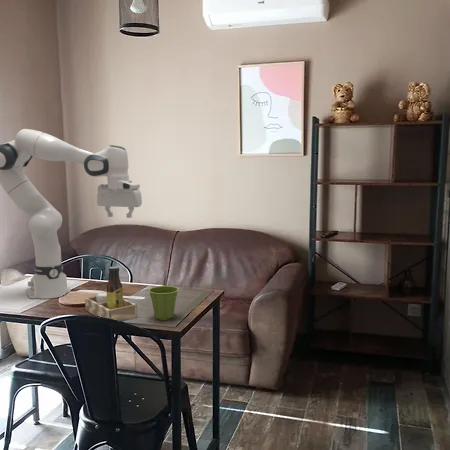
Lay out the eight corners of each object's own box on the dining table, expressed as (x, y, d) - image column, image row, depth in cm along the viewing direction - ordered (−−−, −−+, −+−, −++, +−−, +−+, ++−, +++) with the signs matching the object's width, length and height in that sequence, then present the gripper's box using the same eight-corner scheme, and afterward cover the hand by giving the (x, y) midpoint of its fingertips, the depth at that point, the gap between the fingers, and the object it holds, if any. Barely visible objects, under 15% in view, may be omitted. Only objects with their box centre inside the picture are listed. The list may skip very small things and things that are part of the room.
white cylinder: (109, 313, 203) (108, 296, 202) (93, 312, 204) (92, 295, 203) (116, 308, 210) (115, 292, 209) (101, 307, 211) (100, 291, 210)
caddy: (85, 309, 208) (84, 298, 207) (112, 304, 215) (111, 293, 214) (109, 323, 191) (108, 310, 190) (137, 317, 198) (137, 304, 197)
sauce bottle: (119, 319, 195) (117, 269, 192) (104, 318, 196) (102, 268, 194) (126, 314, 201) (124, 266, 198) (112, 313, 203) (110, 265, 200)
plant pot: (185, 318, 196) (184, 290, 195) (157, 324, 189) (157, 295, 188) (170, 310, 206) (169, 283, 204) (143, 316, 199) (142, 288, 197)
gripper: (93, 184, 212) (94, 217, 214) (135, 185, 204) (136, 219, 206) (101, 183, 218) (103, 215, 220) (143, 184, 210) (144, 217, 212)
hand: (119, 217), depth 213 cm, fingers open, 8 cm apart
